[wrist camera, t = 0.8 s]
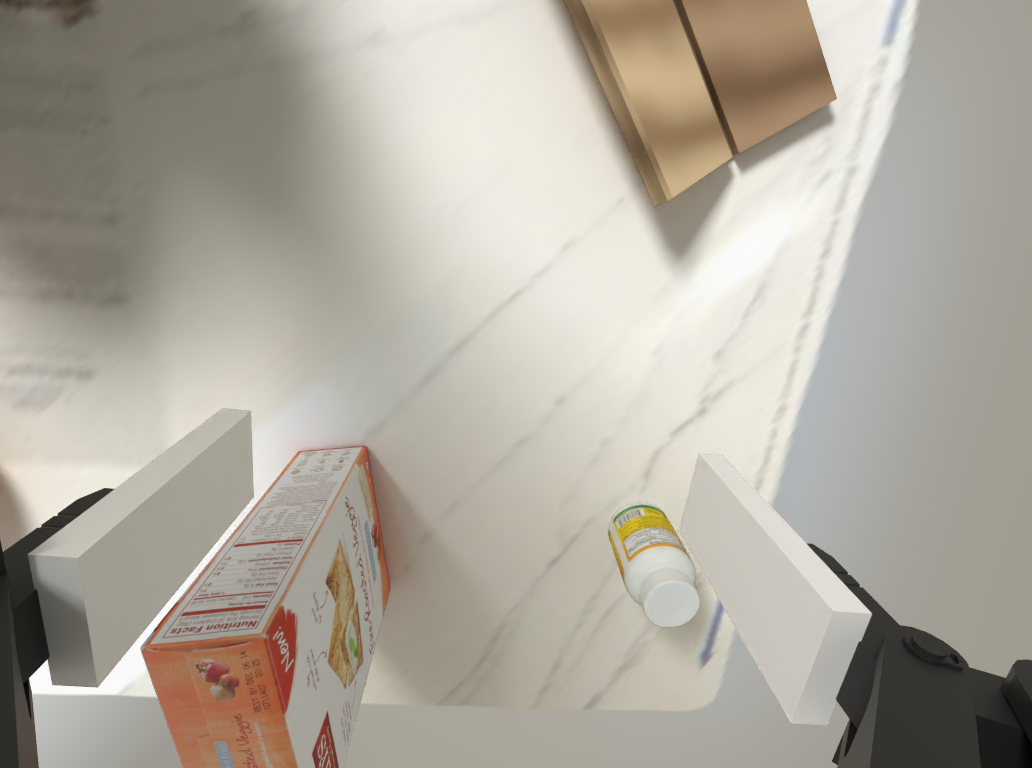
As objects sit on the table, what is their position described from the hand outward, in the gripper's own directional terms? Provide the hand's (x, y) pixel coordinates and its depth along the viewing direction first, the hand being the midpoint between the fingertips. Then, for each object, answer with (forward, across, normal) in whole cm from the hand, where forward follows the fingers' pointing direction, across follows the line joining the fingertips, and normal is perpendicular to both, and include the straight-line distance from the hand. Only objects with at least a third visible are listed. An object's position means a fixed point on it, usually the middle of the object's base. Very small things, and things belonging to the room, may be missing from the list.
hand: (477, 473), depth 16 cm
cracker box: (+26, -10, -19) cm, 33 cm away
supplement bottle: (+26, +15, -17) cm, 34 cm away
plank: (+24, +6, +20) cm, 31 cm away
